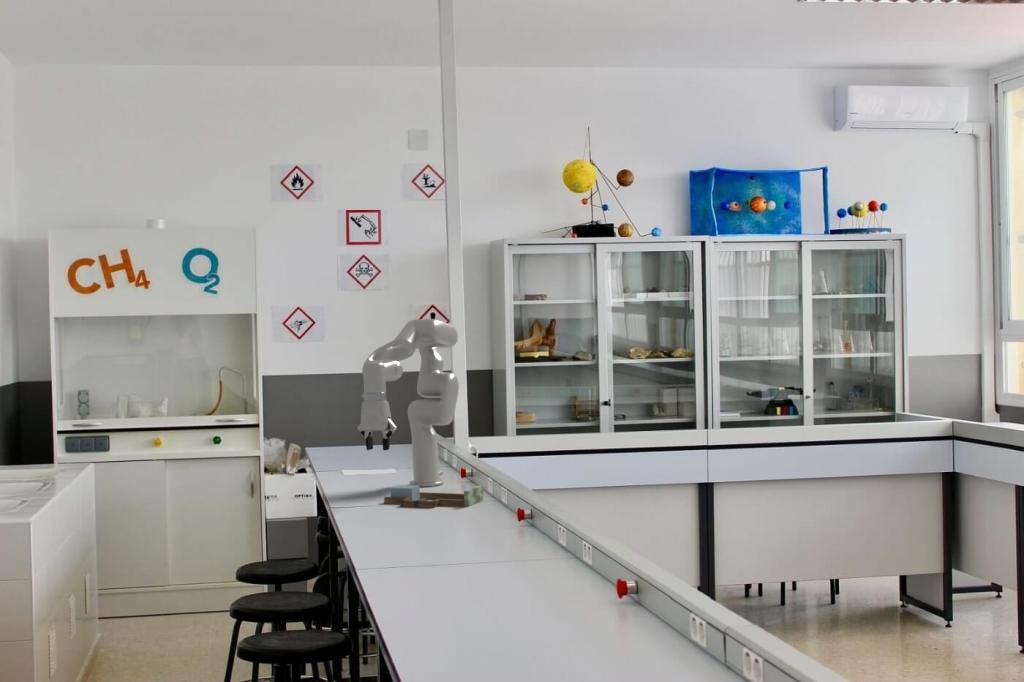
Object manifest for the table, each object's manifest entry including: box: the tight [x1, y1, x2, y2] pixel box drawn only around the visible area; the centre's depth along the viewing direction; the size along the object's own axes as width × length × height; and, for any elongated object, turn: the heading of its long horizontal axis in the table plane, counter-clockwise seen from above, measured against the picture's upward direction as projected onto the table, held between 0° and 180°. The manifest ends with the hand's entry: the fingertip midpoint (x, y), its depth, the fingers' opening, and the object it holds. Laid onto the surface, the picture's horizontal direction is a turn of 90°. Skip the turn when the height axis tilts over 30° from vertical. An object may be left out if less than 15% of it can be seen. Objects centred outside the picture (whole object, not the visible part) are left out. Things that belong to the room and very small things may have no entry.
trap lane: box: [383, 485, 485, 509], centre depth 370 cm, size 16×32×5 cm, turn 66°
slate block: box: [390, 484, 421, 500], centre depth 377 cm, size 6×8×5 cm
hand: (378, 449), depth 380 cm, fingers open, 5 cm apart
